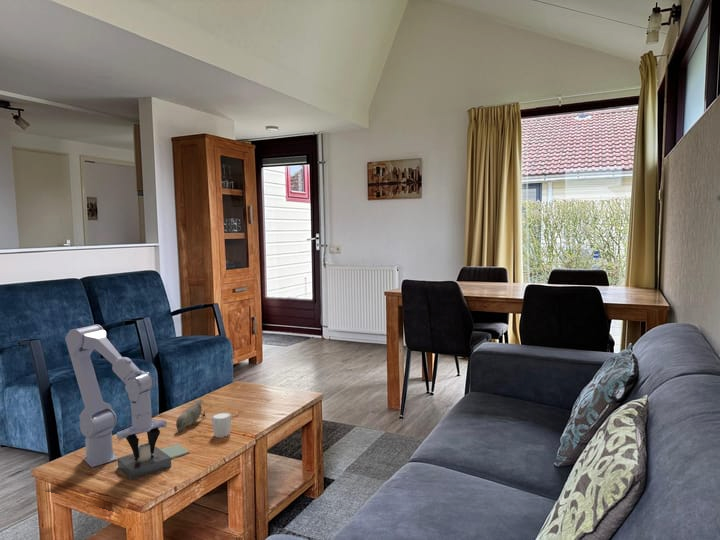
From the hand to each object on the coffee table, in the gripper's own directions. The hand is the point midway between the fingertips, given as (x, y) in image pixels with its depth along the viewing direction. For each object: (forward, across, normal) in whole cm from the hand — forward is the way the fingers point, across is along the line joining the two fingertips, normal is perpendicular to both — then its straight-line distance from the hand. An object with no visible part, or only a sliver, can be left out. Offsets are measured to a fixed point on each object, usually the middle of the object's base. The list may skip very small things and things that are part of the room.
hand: (143, 455), depth 158 cm
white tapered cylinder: (+4, +30, +6) cm, 31 cm away
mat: (+4, +11, +4) cm, 12 cm away
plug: (+4, 0, 0) cm, 4 cm away
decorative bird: (+4, +26, +24) cm, 36 cm away
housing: (+4, 0, 0) cm, 4 cm away
